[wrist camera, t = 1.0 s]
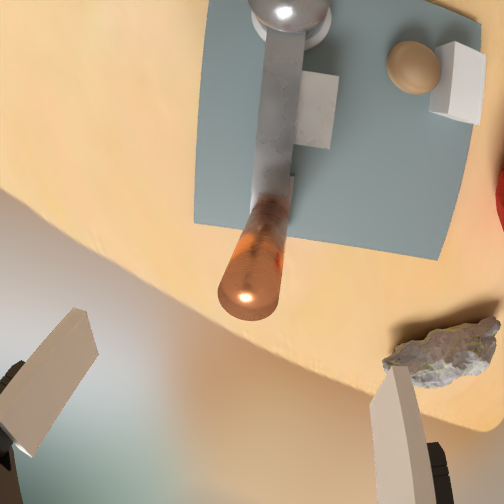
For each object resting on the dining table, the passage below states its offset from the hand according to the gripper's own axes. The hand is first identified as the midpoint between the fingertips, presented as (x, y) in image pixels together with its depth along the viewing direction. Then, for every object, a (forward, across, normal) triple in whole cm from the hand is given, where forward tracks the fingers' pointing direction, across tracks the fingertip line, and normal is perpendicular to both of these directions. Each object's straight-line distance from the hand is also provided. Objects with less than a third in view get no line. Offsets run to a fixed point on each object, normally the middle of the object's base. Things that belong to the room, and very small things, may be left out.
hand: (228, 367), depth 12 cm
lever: (+17, +1, +9) cm, 19 cm away
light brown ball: (+18, +10, +15) cm, 25 cm away
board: (+19, +5, +10) cm, 22 cm away
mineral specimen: (+19, +23, -13) cm, 33 cm away
